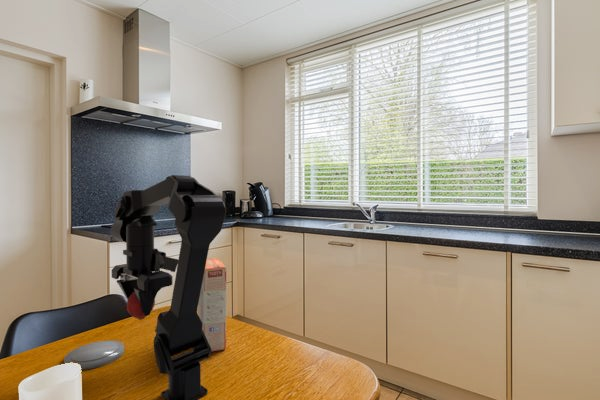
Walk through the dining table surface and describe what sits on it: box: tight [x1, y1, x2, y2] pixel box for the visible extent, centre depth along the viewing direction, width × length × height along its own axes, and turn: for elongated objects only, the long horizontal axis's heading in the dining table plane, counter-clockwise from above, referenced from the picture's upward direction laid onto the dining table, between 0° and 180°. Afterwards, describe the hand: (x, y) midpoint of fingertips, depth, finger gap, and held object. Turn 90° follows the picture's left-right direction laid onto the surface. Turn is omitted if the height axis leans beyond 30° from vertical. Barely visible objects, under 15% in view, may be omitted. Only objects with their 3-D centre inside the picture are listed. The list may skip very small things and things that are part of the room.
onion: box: [126, 291, 156, 321], centre depth 74 cm, size 6×6×8 cm
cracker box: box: [197, 257, 227, 353], centre depth 85 cm, size 14×6×21 cm, turn 22°
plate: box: [63, 340, 125, 371], centre depth 76 cm, size 12×12×2 cm
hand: (140, 312), depth 74 cm, fingers closed on onion, 6 cm apart
